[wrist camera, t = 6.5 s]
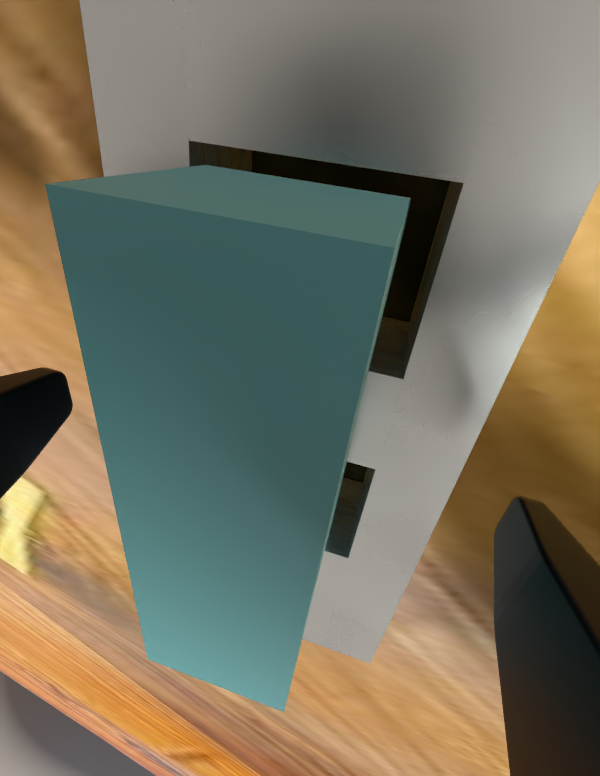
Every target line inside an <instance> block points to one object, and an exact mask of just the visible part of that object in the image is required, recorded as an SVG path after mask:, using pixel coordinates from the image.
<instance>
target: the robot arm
mask: <svg viewBox="0 0 600 776" xmlns="http://www.w3.org/2000/svg"><path fill="white" fill-rule="evenodd" d="M72 407H73V404H72V399H71V395H70V391H69V387H68V383H67V379H66V376H65V375H64V374H63V373H62V372H60V371H57V370H53V369H49V368H37V369H32V370H28V371H23V372H19V373H14V374H10V375H5V376H0V498H1V497H2V496H3V495H4V494H5V493H6V492H7V491H8V490H9V489H10V488H11V487H12V486H13V485H14V484H15V482H16V481H17V480H18V479H19V478H20V477H21V476H22V475H23V474H24V472H25V471H26V470H27V469H28V468H29V466H30V465H31V464H32V463H33V461H34V460H35V459H36V458H37V456H38V455H39V454H40V452H41V451H42V450H43V449H44V447H45V446H46V445H47V443H48V442H49V441H50V440H51V438H52V437H53V436H54V434H55V433H56V432H57V431H58V429H59V428H60V427H61V426H62V424H63V423H64V422H65V420H66V419H67V418H68V417H69V415H70V413H71V411H72ZM494 629H495V641H496V650H497V659H498V668H499V677H500V686H501V695H502V704H503V713H504V722H505V731H506V741H507V750H508V759H509V768H510V776H600V566H599V564H598V563H597V562H596V561H595V560H594V559H593V558H592V557H591V555H590V554H589V553H588V552H587V551H586V550H585V549H584V548H583V546H582V545H581V544H580V543H579V542H578V541H577V540H576V539H575V537H574V536H573V535H572V534H571V533H570V532H569V531H568V530H567V529H566V527H565V526H564V525H563V524H562V523H561V522H560V521H559V520H558V518H557V517H556V516H555V515H554V514H553V513H552V512H551V511H550V509H549V508H548V507H547V506H546V505H545V504H544V503H542V502H540V501H537V500H533V499H529V498H525V497H522V496H518V497H515V498H514V499H513V500H512V502H511V503H510V505H509V506H508V508H507V510H506V511H505V513H504V515H503V516H502V518H501V520H500V521H499V523H498V525H497V527H496V530H495V535H494Z"/></svg>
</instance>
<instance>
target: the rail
mask: <svg viewBox="0 0 600 776" xmlns="http://www.w3.org/2000/svg"><path fill="white" fill-rule="evenodd" d="M79 2H80V9H81V16H82V23H83V31H84V38H85V45H86V52H87V59H88V66H89V73H90V81H91V88H92V95H93V102H94V109H95V116H96V123H97V131H98V138H99V145H100V152H101V159H102V166H103V173H104V177H107V176H115V175H124V174H132V173H141V172H149V171H158V170H166V169H175V168H183V167H191V166H200V165H210V166H216V167H223V168H229V169H235V170H241V171H247V172H252V156H253V150H254V151H260V152H266V153H273V154H279V155H286V156H292V157H299V158H305V159H312V160H318V161H325V162H331V163H338V164H344V165H351V166H357V167H364V168H370V169H376V170H383V171H389V172H396V173H402V174H409V175H415V176H422V177H428V178H435V179H441V180H448V181H450V185H449V188H448V191H447V195H446V198H445V202H444V205H443V209H442V212H441V215H440V219H439V222H438V226H437V229H436V233H435V236H434V240H433V243H432V246H431V250H430V253H429V257H428V260H427V264H426V267H425V271H424V274H423V277H422V281H421V284H420V288H419V291H418V295H417V298H416V302H415V305H414V308H413V312H412V315H411V319H410V322H406V321H402V320H397V319H392V318H388V317H383V316H382V320H381V324H380V328H379V332H378V335H377V339H376V343H375V347H374V351H373V354H372V358H371V362H370V366H369V370H368V374H367V379H366V383H365V387H364V391H363V395H362V399H361V403H360V407H359V411H358V415H357V420H356V424H355V428H354V432H353V436H352V440H351V444H350V448H349V452H348V456H347V460H346V461H347V462H351V463H354V464H358V465H361V466H365V467H367V470H366V474H365V477H364V481H363V483H361V482H358V481H354V480H351V479H347V478H344V477H343V480H342V484H341V488H340V492H339V496H338V500H337V504H336V508H335V512H334V516H333V520H332V524H331V527H330V531H329V535H328V539H327V543H326V547H325V551H324V555H323V559H322V563H321V567H320V571H319V575H318V579H317V583H316V587H315V591H314V595H313V599H312V603H311V607H310V611H309V614H308V618H307V622H306V626H305V630H304V634H303V638H302V639H303V640H306V641H309V642H312V643H314V644H317V645H320V646H323V647H326V648H329V649H331V650H334V651H337V652H340V653H343V654H345V655H348V656H351V657H354V658H357V659H359V660H362V661H365V662H368V663H371V660H372V658H373V656H374V654H375V652H376V650H377V648H378V646H379V644H380V642H381V639H382V637H383V635H384V633H385V631H386V629H387V627H388V625H389V623H390V621H391V618H392V616H393V614H394V612H395V610H396V608H397V606H398V604H399V602H400V600H401V597H402V595H403V593H404V591H405V589H406V587H407V585H408V583H409V581H410V579H411V576H412V574H413V572H414V570H415V568H416V566H417V564H418V562H419V560H420V558H421V555H422V553H423V551H424V549H425V547H426V545H427V543H428V541H429V539H430V537H431V534H432V532H433V530H434V528H435V526H436V524H437V522H438V520H439V518H440V516H441V513H442V511H443V509H444V507H445V505H446V503H447V501H448V499H449V497H450V495H451V492H452V490H453V488H454V486H455V484H456V482H457V480H458V478H459V476H460V474H461V471H462V469H463V467H464V465H465V463H466V461H467V459H468V457H469V455H470V453H471V450H472V448H473V446H474V444H475V442H476V440H477V438H478V436H479V434H480V432H481V429H482V427H483V425H484V423H485V421H486V419H487V417H488V415H489V413H490V411H491V408H492V406H493V404H494V402H495V400H496V398H497V396H498V394H499V392H500V390H501V387H502V385H503V383H504V381H505V379H506V377H507V375H508V373H509V371H510V369H511V366H512V364H513V362H514V360H515V358H516V356H517V354H518V352H519V350H520V348H521V345H522V343H523V341H524V339H525V337H526V335H527V333H528V331H529V329H530V327H531V324H532V322H533V320H534V318H535V316H536V314H537V312H538V310H539V308H540V306H541V303H542V301H543V299H544V297H545V295H546V293H547V291H548V289H549V287H550V285H551V282H552V280H553V278H554V276H555V274H556V272H557V270H558V268H559V266H560V264H561V261H562V259H563V257H564V255H565V253H566V251H567V249H568V247H569V245H570V243H571V240H572V238H573V236H574V234H575V232H576V230H577V228H578V226H579V224H580V222H581V219H582V217H583V215H584V213H585V211H586V209H587V207H588V205H589V203H590V201H591V198H592V196H593V194H594V192H595V190H596V188H597V186H598V184H599V182H600V0H79Z"/></svg>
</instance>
